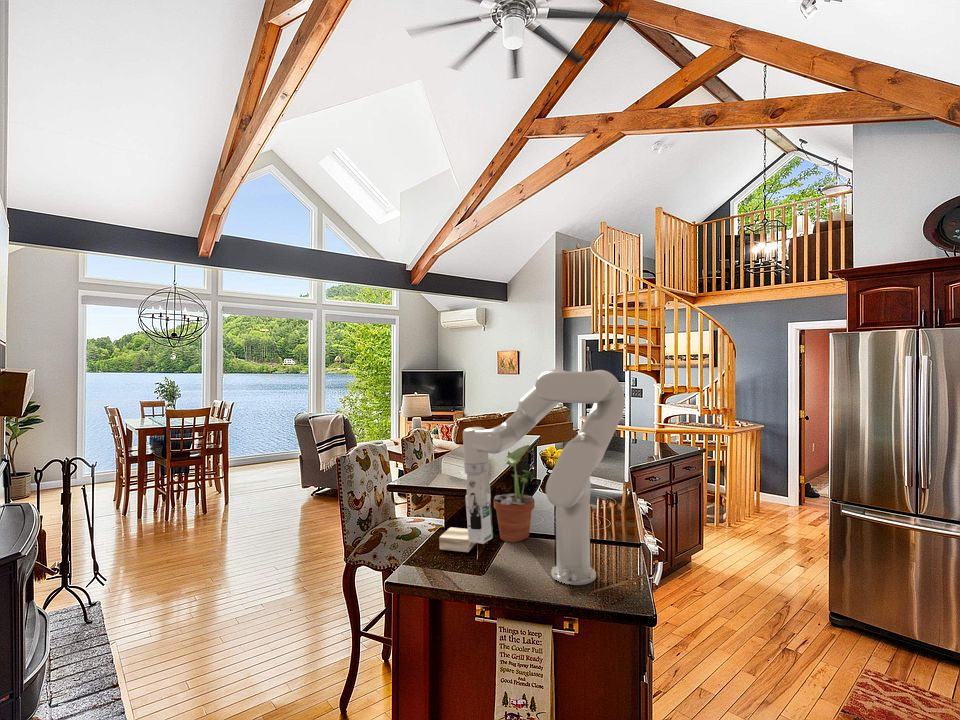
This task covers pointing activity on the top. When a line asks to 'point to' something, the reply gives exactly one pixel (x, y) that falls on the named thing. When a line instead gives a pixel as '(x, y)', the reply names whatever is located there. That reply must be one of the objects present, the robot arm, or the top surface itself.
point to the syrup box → (486, 523)
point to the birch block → (455, 540)
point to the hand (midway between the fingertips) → (479, 524)
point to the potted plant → (515, 504)
